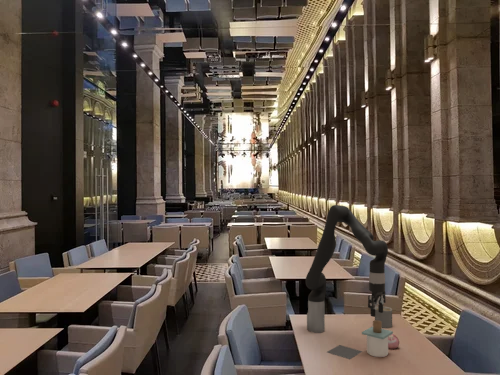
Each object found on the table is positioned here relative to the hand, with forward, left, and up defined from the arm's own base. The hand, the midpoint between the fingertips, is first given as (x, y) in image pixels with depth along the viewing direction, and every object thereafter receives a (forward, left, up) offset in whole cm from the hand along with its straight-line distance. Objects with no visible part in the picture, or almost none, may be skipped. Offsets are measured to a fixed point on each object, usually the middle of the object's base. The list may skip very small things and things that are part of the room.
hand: (376, 314), depth 200 cm
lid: (0, 0, -10) cm, 10 cm away
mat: (-13, -9, -19) cm, 25 cm away
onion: (+2, +13, -20) cm, 24 cm away
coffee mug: (-17, +45, -20) cm, 52 cm away
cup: (0, 0, -20) cm, 20 cm away
